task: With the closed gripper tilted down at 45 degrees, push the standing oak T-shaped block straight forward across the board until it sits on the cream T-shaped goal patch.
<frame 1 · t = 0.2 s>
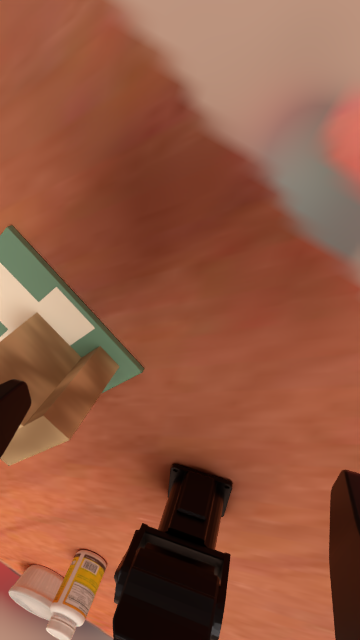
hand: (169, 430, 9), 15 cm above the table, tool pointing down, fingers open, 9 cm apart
ramekin: (50, 574, 69), on the table
supplement bottle: (93, 556, 57), on the table
oak t block: (59, 353, 31), resting on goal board
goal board: (44, 332, 31), on the table
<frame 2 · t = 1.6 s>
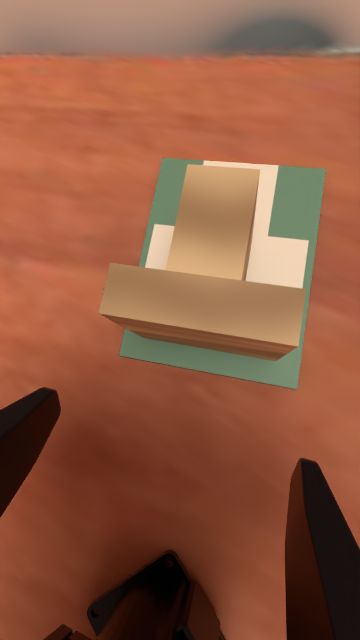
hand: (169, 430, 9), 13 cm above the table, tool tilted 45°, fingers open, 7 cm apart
oak t block: (217, 292, 23), resting on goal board
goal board: (223, 264, 24), on the table
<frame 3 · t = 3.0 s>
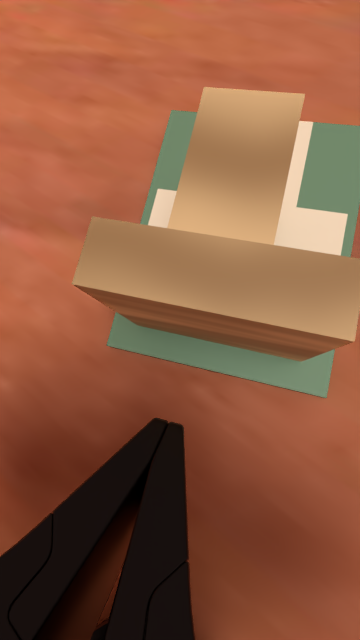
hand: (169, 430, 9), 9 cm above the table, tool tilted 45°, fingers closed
oak t block: (231, 273, 19), resting on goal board
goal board: (239, 240, 20), on the table
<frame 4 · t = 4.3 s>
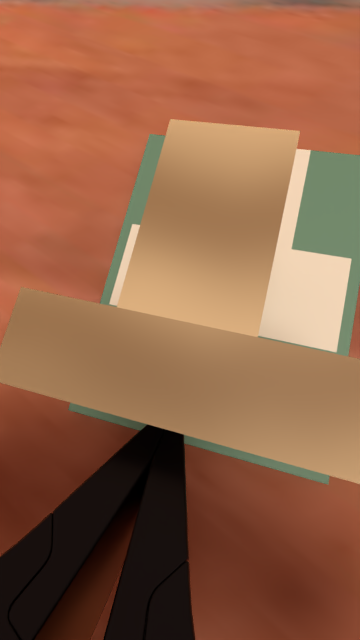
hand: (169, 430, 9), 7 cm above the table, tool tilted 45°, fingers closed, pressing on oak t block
oak t block: (215, 326, 16), point 1 cm above the table, touching gripper
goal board: (225, 285, 17), on the table
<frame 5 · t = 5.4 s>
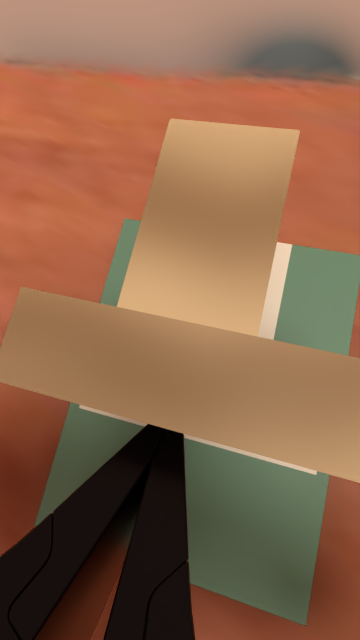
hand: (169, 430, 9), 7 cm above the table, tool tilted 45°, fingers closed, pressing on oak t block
oak t block: (215, 325, 16), point 1 cm above the table, touching gripper
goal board: (201, 389, 16), on the table
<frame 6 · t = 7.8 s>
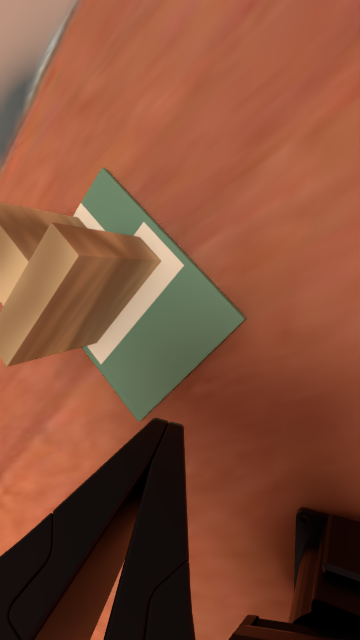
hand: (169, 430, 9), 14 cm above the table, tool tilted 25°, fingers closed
oak t block: (96, 268, 27), resting on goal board
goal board: (124, 297, 26), on the table
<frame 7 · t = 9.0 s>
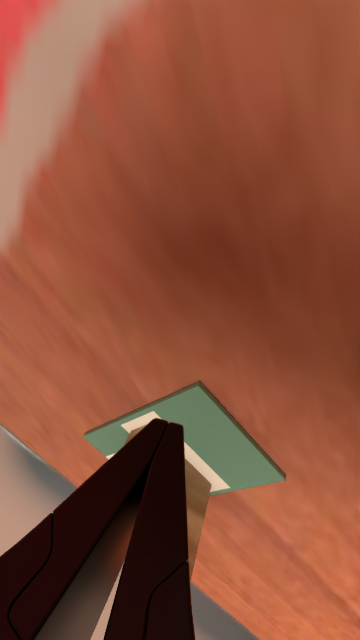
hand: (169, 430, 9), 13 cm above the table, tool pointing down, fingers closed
oak t block: (152, 463, 33), resting on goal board
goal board: (177, 452, 32), on the table
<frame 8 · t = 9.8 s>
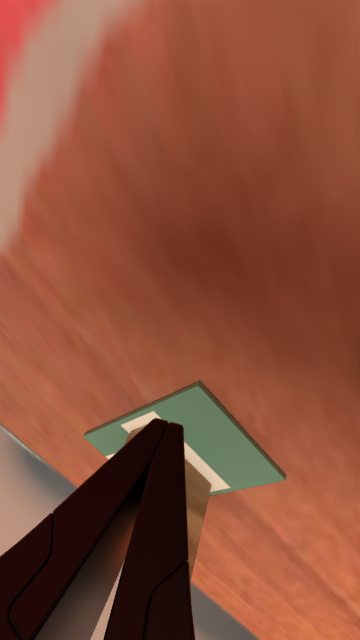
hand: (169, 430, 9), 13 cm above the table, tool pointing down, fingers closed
oak t block: (152, 463, 33), resting on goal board
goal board: (177, 452, 32), on the table
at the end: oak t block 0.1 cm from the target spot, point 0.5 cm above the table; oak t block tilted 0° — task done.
